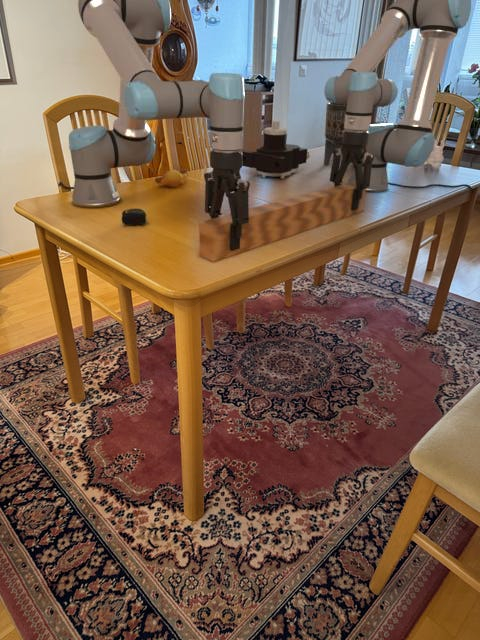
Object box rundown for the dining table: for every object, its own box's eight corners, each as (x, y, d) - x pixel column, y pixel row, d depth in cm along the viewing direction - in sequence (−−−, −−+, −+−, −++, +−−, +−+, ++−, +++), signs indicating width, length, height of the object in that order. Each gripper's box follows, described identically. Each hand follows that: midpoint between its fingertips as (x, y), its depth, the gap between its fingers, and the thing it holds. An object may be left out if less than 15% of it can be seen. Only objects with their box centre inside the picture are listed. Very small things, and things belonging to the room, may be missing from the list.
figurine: (444, 167, 214) (450, 138, 207) (436, 172, 203) (443, 142, 197) (426, 165, 218) (432, 136, 211) (417, 170, 207) (424, 140, 200)
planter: (313, 167, 208) (319, 103, 195) (331, 160, 222) (338, 101, 209) (353, 173, 199) (362, 107, 185) (369, 166, 213) (379, 104, 199)
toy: (151, 179, 167) (162, 169, 180) (158, 195, 170) (169, 185, 183) (178, 169, 164) (188, 160, 177) (185, 186, 167) (194, 176, 180)
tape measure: (122, 227, 131) (120, 215, 129) (123, 220, 136) (122, 208, 135) (146, 227, 132) (145, 214, 130) (147, 219, 137) (145, 207, 136)
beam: (349, 207, 153) (352, 181, 149) (362, 211, 150) (366, 184, 146) (200, 255, 114) (199, 222, 110) (213, 261, 111) (212, 227, 106)
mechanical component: (240, 120, 182) (283, 115, 202) (239, 174, 192) (280, 164, 212) (283, 126, 170) (325, 120, 190) (280, 183, 180) (320, 171, 200)
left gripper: (187, 145, 107) (191, 239, 119) (243, 158, 95) (241, 260, 107) (211, 142, 112) (212, 232, 123) (267, 154, 100) (263, 252, 112)
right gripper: (323, 128, 139) (315, 202, 150) (377, 135, 127) (364, 216, 139) (337, 126, 143) (328, 198, 155) (391, 133, 132) (377, 211, 143)
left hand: (225, 245), depth 115 cm, fingers open, 6 cm apart
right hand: (345, 207), depth 147 cm, fingers open, 6 cm apart
